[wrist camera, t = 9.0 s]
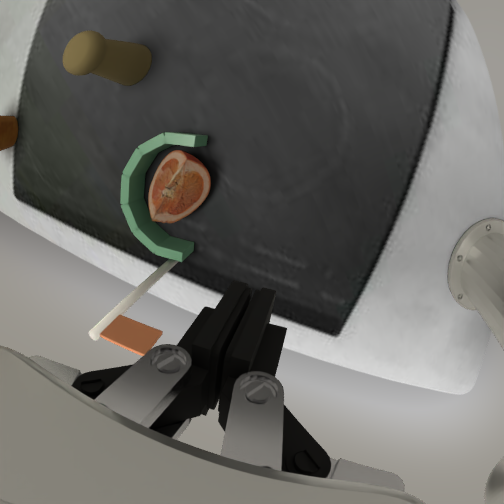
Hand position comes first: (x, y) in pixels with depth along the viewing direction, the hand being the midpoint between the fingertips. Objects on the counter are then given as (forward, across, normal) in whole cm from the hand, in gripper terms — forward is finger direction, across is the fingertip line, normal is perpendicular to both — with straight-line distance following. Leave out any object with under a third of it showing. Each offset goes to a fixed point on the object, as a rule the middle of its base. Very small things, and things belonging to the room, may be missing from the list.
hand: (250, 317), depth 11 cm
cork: (+22, +23, -15) cm, 35 cm away
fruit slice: (+22, +13, 0) cm, 26 cm away
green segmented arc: (+22, +14, +2) cm, 26 cm away
